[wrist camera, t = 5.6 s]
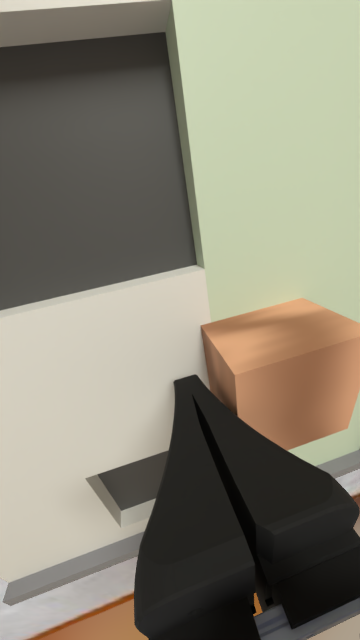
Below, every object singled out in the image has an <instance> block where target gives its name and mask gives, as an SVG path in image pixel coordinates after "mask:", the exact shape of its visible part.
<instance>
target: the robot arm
mask: <svg viewBox="0 0 360 640" xmlns="http://www.w3.org/2000/svg"><path fill="white" fill-rule="evenodd" d="M173 384H174V390H175V407H174V420H173V428H172V435H171V441H170V446H169V451H168V456H167V460H166V464H165V469H164V472H163V476H162V480H161V483H160V487H159V490H158V493H157V497H156V500H155V503H154V506H153V509H152V512H151V515H150V518H149V521H148V523H147V526H146V529H145V532H144V535H143V537H142V540H141V543H140V548H139V554H138V560H137V567H136V574H135V588H134V617H135V626H136V628H137V629H138V630H139V631H140V632H141V633H142V634H144V635H145V636H147V637H148V638H149V640H307V639H309V638H311V637H313V636H315V635H317V634H319V633H321V632H323V631H325V630H327V629H329V628H331V627H334V626H336V625H338V624H340V623H342V622H344V621H346V620H348V619H350V618H352V617H354V616H356V615H358V614H360V537H359V536H358V534H357V533H356V532H355V530H354V529H353V527H354V525H355V523H356V520H357V518H358V516H359V507H358V505H357V504H356V502H355V501H354V500H353V499H352V497H351V496H350V495H349V494H348V492H347V491H346V490H345V489H344V488H343V487H342V486H341V485H340V484H339V483H338V482H337V481H336V480H335V479H334V478H333V477H332V476H331V475H330V474H329V473H327V472H325V471H323V470H322V469H320V468H318V467H316V466H314V465H312V464H310V463H308V462H306V461H304V460H303V459H301V458H299V457H297V456H295V455H294V454H292V453H290V452H289V451H287V450H285V449H283V448H282V447H280V446H279V445H277V444H276V443H274V442H272V441H271V440H269V439H268V438H266V437H265V436H263V435H262V434H260V433H259V432H257V431H256V430H255V429H253V428H252V427H250V426H249V425H248V424H247V423H245V422H244V421H243V420H241V419H240V418H239V417H238V416H236V415H235V414H234V413H233V412H232V411H231V410H230V409H228V408H227V407H226V406H225V405H224V404H223V403H222V402H221V401H220V400H219V399H218V398H217V397H216V396H215V395H214V394H213V393H212V392H211V391H210V390H209V389H208V388H207V387H206V386H205V384H204V383H203V382H202V381H201V380H200V378H199V377H198V375H196V374H194V375H191V376H187V377H184V378H181V379H177V380H175V381H174V382H173ZM254 593H257V597H258V600H259V603H260V606H261V609H262V611H263V613H261V614H259V615H257V616H253V614H255V613H256V609H255V606H254Z"/></svg>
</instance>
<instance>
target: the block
mask: <svg viewBox="0 0 360 640" xmlns="http://www.w3.org/2000/svg"><path fill="white" fill-rule="evenodd" d="M200 326H201V332H202V339H203V345H204V352H205V359H206V365H207V372H208V379H209V385H210V391H211V392H212V393H213V394H214V395H215V396H216V397H217V398H218V399H219V400H220V401H221V402H222V403H223V404H224V405H225V406H226V407H227V408H228V409H230V410H231V411H232V412H233V413H234V414H235V415H236V416H238V417H239V418H240V419H241V420H243V421H244V422H245V423H247V424H248V425H249V426H250V427H252V428H253V429H255V430H256V431H257V432H259V433H260V434H262V435H263V436H265V437H266V438H268V439H269V440H271V441H272V442H274V443H276V444H277V445H279V446H280V447H282V448H283V449H285V450H287V451H288V450H290V449H293V448H296V447H299V446H301V445H304V444H307V443H309V442H312V441H315V440H318V439H320V438H323V437H326V436H329V435H331V434H334V433H337V432H340V431H342V430H345V429H348V426H349V423H350V420H351V416H352V413H353V410H354V407H355V403H356V400H357V397H358V393H359V390H360V323H358V322H356V321H354V320H351V319H349V318H347V317H345V316H342V315H340V314H338V313H336V312H333V311H331V310H329V309H327V308H324V307H322V306H320V305H318V304H315V303H313V302H311V301H309V300H306V299H304V298H299V299H296V300H292V301H288V302H285V303H281V304H277V305H274V306H270V307H266V308H263V309H259V310H255V311H252V312H248V313H244V314H241V315H237V316H233V317H230V318H226V319H222V320H219V321H215V322H211V323H207V324H204V325H200Z"/></svg>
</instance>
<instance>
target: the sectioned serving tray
mask: <svg viewBox="0 0 360 640" xmlns="http://www.w3.org/2000/svg"><path fill="white" fill-rule="evenodd" d="M299 298H304V299H306V300H309V301H311V302H313V303H315V304H318V305H320V306H322V307H324V308H327V309H329V310H331V311H333V312H336V313H338V314H340V315H342V316H345V317H347V318H349V319H351V320H354V321H356V322H358V323H360V0H0V578H1V579H3V580H5V581H6V582H8V583H9V584H8V587H7V590H6V593H5V596H4V599H3V602H4V603H6V604H8V605H10V606H12V605H14V604H17V603H19V602H22V601H24V600H27V599H29V598H32V597H34V596H37V595H40V594H42V593H45V592H47V591H50V590H52V589H55V588H57V587H60V586H62V585H65V584H68V583H70V582H73V581H75V580H78V579H80V578H83V577H85V576H88V575H90V574H93V573H95V572H98V571H101V570H103V569H106V568H108V567H111V566H113V565H116V564H118V563H121V562H123V561H126V560H129V559H131V558H134V557H136V556H138V554H139V548H140V543H141V540H142V537H143V535H144V532H145V529H146V526H147V523H148V521H149V518H150V515H151V512H152V509H153V506H154V503H155V500H156V497H157V493H158V490H159V487H160V483H161V480H162V476H163V472H164V469H165V464H166V460H167V456H168V451H169V446H170V441H171V435H172V428H173V420H174V407H175V390H174V384H173V382H174V381H175V380H177V379H181V378H184V377H187V376H191V375H194V374H196V375H198V377H199V378H200V380H201V381H202V382H203V383H204V384H205V386H206V387H207V388H208V389H209V390H210V385H209V379H208V372H207V365H206V359H205V352H204V345H203V339H202V332H201V326H200V325H204V324H207V323H211V322H215V321H219V320H222V319H226V318H230V317H233V316H237V315H241V314H244V313H248V312H252V311H255V310H259V309H263V308H266V307H270V306H274V305H277V304H281V303H285V302H288V301H292V300H296V299H299ZM288 451H289V452H290V453H292V454H294V455H295V456H297V457H299V458H301V459H303V460H304V461H306V462H308V463H310V464H312V465H314V466H316V467H318V468H320V469H322V470H323V471H325V472H327V473H329V474H330V475H331V476H332V477H333V478H334V479H335V478H337V477H340V476H342V475H345V474H347V473H350V472H352V471H355V470H358V469H360V390H359V393H358V397H357V400H356V403H355V407H354V410H353V413H352V416H351V420H350V423H349V426H348V429H345V430H342V431H340V432H337V433H334V434H331V435H329V436H326V437H323V438H320V439H318V440H315V441H312V442H309V443H307V444H304V445H301V446H299V447H296V448H293V449H290V450H288Z"/></svg>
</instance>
